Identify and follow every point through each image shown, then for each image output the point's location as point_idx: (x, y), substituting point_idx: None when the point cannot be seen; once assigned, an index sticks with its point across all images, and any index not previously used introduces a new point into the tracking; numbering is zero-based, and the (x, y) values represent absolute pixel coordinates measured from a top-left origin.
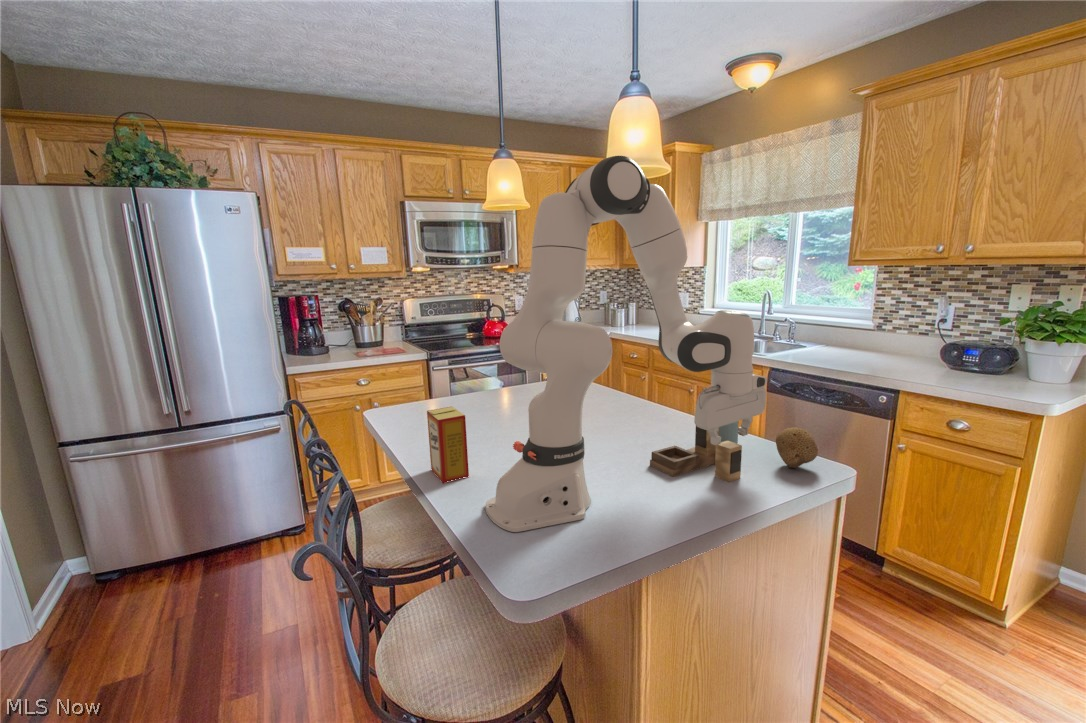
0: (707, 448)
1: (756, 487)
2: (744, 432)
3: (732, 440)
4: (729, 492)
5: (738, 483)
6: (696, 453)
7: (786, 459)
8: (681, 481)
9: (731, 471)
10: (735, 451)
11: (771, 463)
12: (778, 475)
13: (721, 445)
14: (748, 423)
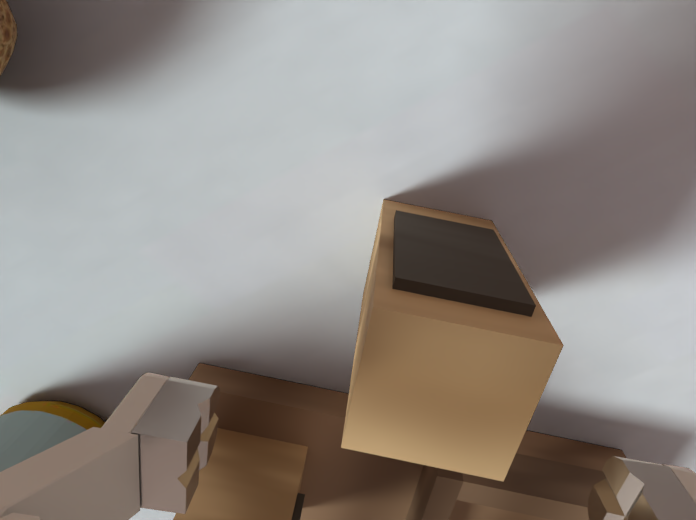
0: (295, 485)
1: (451, 50)
2: (198, 411)
3: (36, 444)
4: (646, 140)
5: (470, 168)
6: (317, 493)
7: (2, 19)
8: (655, 397)
9: (495, 235)
10: (467, 303)
11: (31, 170)
12: (156, 41)
13: (515, 435)
14: (56, 489)
